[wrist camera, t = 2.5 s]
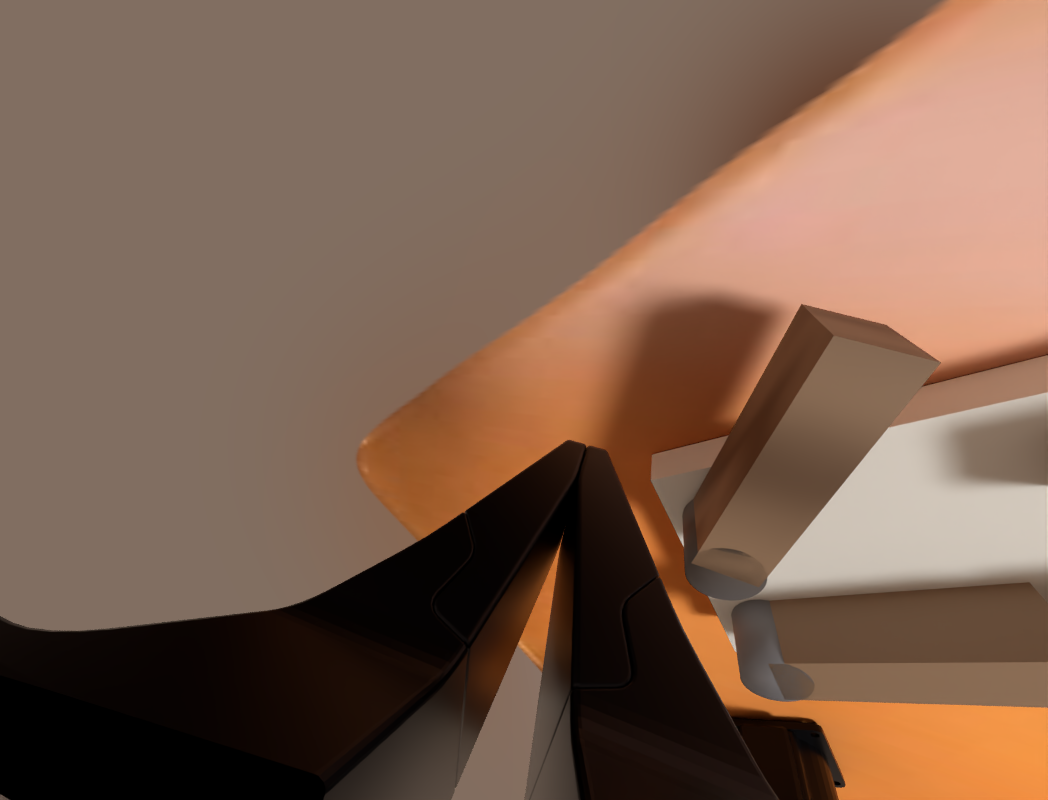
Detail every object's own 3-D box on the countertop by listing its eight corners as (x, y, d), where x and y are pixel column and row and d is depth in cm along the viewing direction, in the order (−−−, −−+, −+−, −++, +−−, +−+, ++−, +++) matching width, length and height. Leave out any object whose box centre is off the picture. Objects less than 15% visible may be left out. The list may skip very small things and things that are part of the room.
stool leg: (735, 550, 18) (745, 609, 16) (673, 528, 19) (674, 583, 16) (891, 326, 13) (947, 364, 10) (796, 303, 13) (827, 333, 11)
